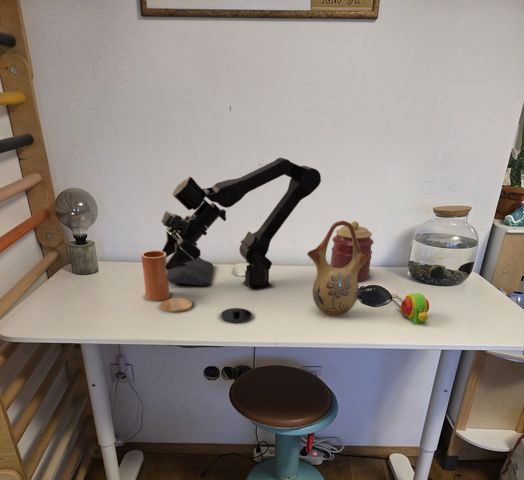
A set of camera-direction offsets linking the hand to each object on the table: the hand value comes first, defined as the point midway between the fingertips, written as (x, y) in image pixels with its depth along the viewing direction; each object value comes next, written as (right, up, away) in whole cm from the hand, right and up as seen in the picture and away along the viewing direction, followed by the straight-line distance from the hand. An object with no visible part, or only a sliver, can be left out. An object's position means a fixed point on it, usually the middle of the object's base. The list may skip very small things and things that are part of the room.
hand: (163, 263), depth 130 cm
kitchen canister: (+56, 0, +23) cm, 61 cm away
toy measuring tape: (+68, -14, -1) cm, 69 cm away
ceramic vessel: (+47, -14, -4) cm, 49 cm away
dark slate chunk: (+4, 0, +20) cm, 20 cm away
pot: (-2, -9, +4) cm, 10 cm away
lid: (+21, -15, -7) cm, 27 cm away
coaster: (+4, -12, -2) cm, 13 cm away
